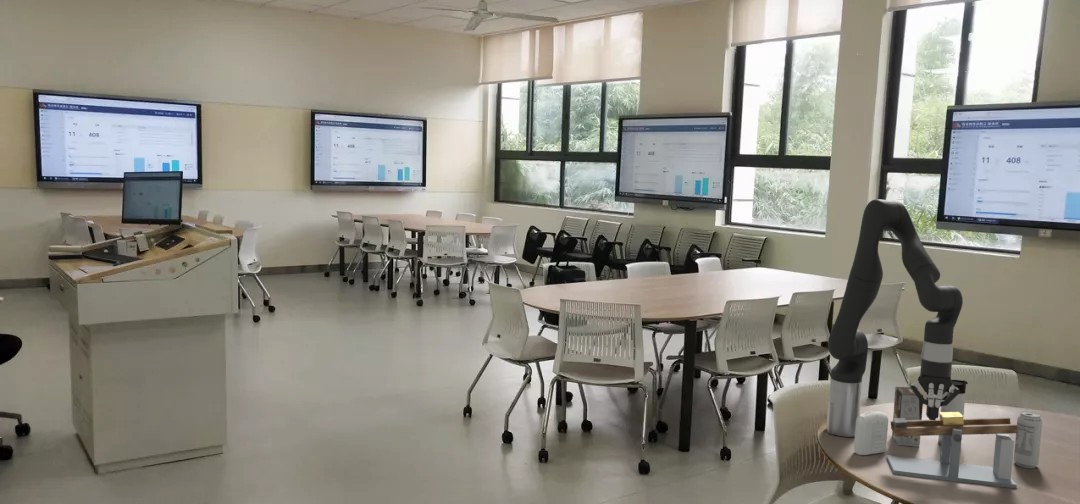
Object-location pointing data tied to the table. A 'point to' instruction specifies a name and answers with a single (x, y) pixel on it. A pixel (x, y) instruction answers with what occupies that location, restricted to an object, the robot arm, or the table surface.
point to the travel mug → (955, 401)
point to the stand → (961, 472)
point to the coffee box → (907, 413)
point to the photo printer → (871, 433)
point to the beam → (969, 428)
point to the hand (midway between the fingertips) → (932, 419)
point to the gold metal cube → (951, 419)
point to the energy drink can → (1028, 440)
